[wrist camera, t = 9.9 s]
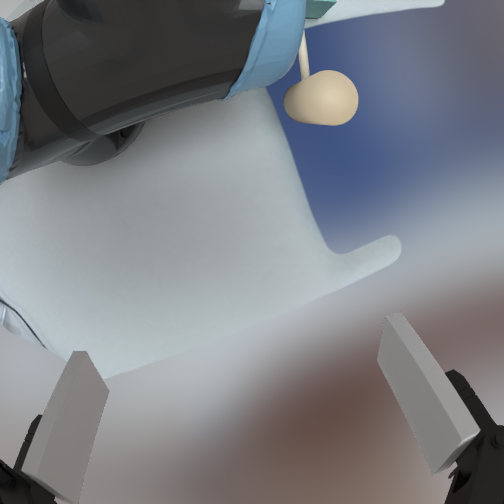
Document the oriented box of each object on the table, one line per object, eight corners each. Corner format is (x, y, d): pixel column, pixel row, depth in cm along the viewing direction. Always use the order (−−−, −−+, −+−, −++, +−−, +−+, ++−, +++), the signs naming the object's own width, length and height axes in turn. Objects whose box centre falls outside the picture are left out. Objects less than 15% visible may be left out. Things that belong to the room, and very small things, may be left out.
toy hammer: (281, 124, 33) (300, 126, 24) (263, -21, 25) (274, -60, 16) (330, 122, 33) (365, 125, 24) (312, -20, 25) (337, -55, 16)
